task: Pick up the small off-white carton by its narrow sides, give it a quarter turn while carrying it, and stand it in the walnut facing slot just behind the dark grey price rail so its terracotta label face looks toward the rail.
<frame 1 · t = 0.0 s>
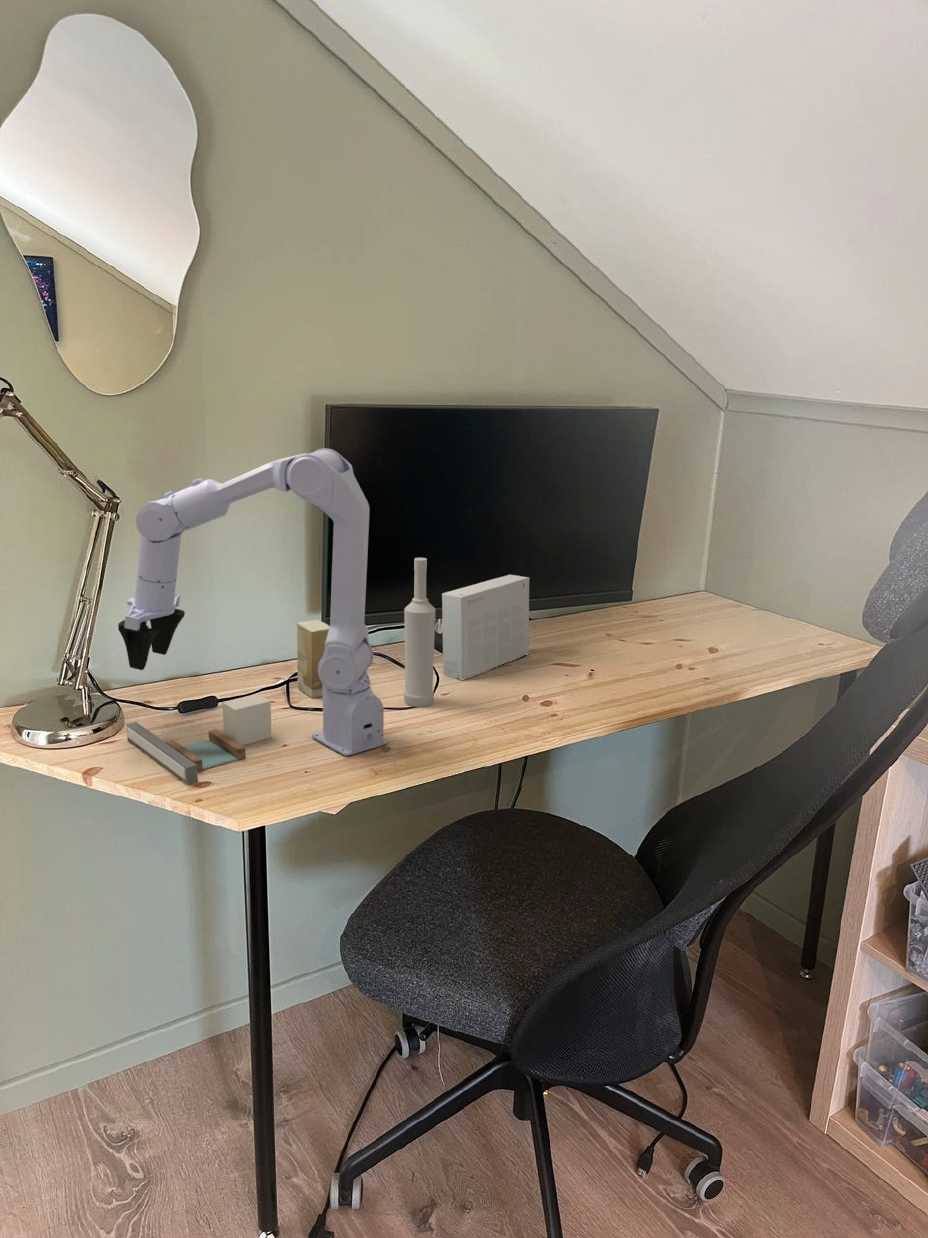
hand: (148, 660, 150), 11 cm above the table, tool pointing down, fingers open, 7 cm apart
bottle: (418, 703, 166), on the table
price rail: (161, 759, 140), on the table
skincare box: (315, 692, 169), on the table
carton: (247, 738, 149), on the table
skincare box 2: (485, 665, 186), on the table
facing slot: (205, 755, 142), on the table
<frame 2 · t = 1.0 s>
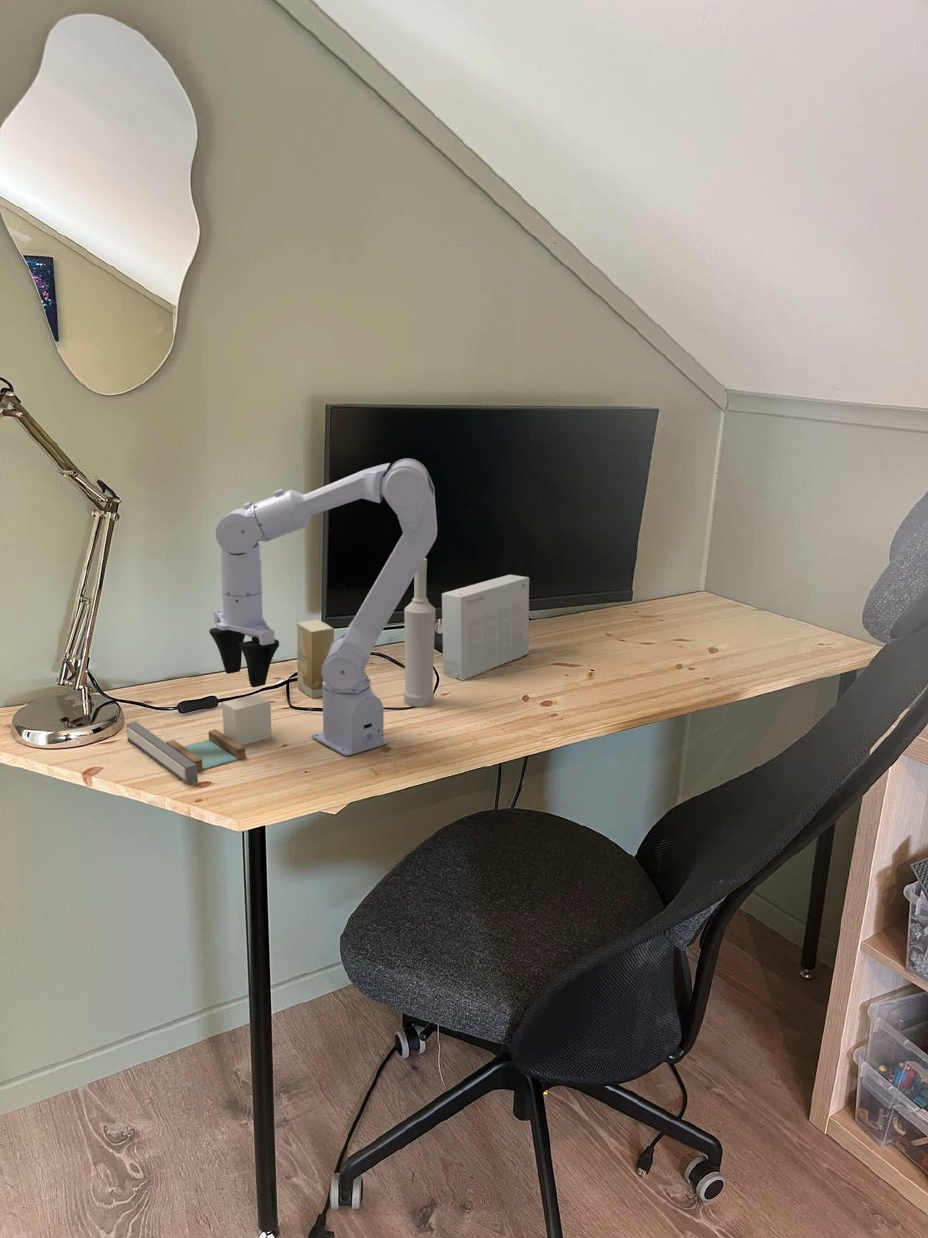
hand: (245, 678, 146), 10 cm above the table, tool pointing down, fingers open, 7 cm apart
nothing on the table moved.
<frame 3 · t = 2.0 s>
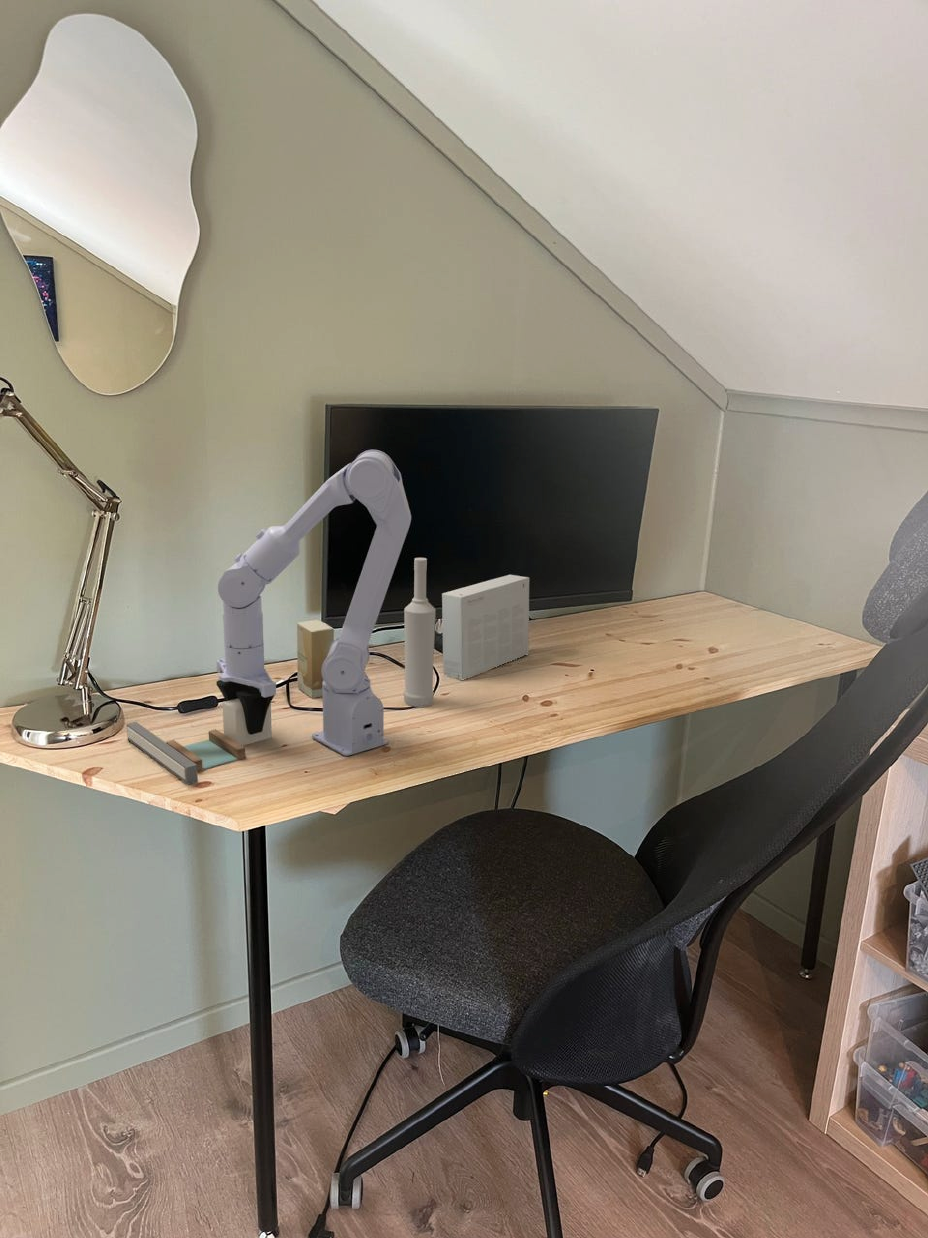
hand: (247, 728, 148), 2 cm above the table, tool pointing down, fingers closed on carton, 4 cm apart
carton: (247, 738, 149), on the table, touching gripper
everything else where it was.
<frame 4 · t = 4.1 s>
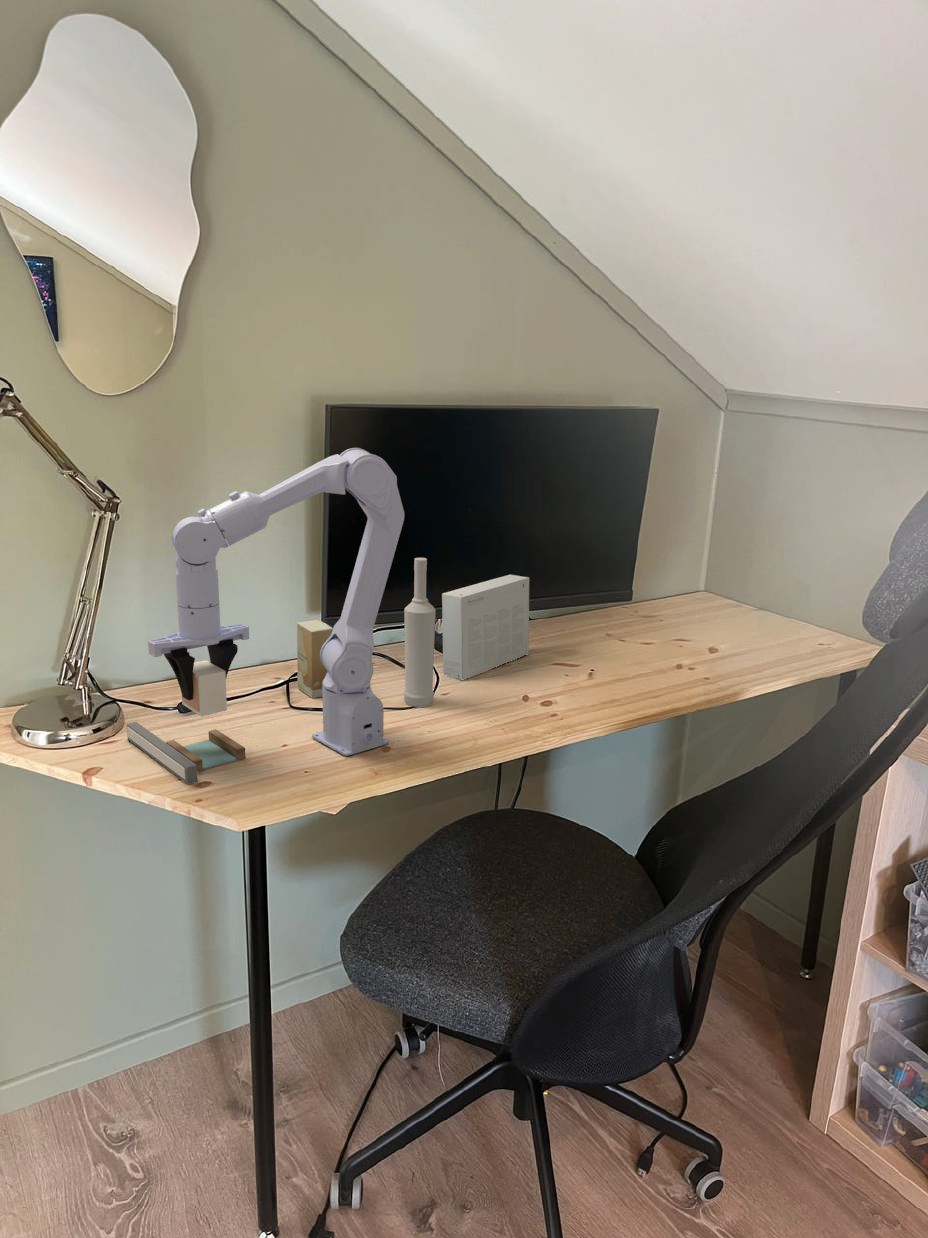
hand: (203, 694, 140), 9 cm above the table, tool pointing down, fingers closed on carton, 4 cm apart
carton: (204, 707, 140), point 7 cm above the table, touching gripper
everything else where it was.
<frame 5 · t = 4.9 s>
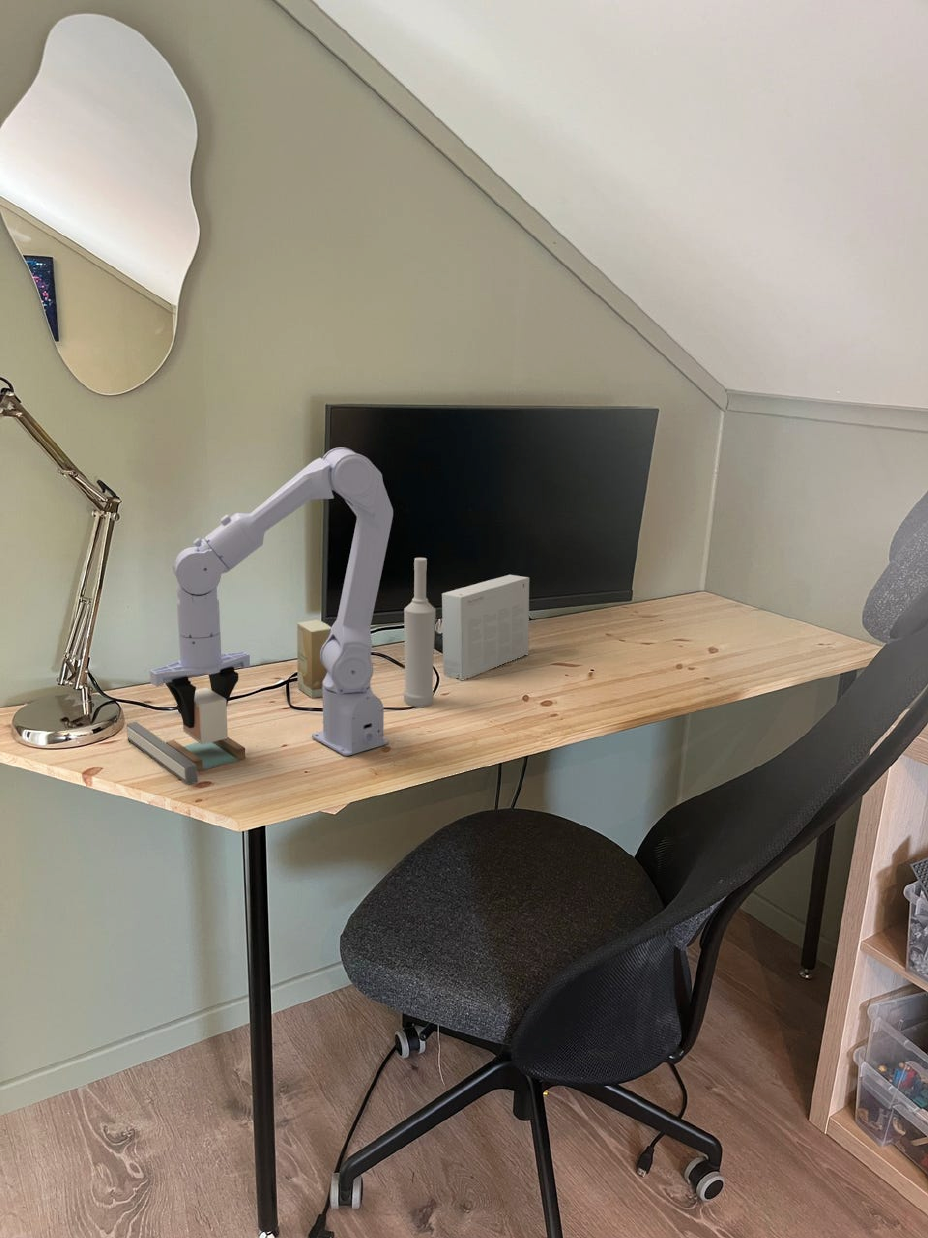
hand: (204, 722, 141), 5 cm above the table, tool pointing down, fingers closed on carton, 4 cm apart
carton: (205, 734, 141), point 3 cm above the table, touching gripper
everything else where it was.
when the fingers open (3 cm above the table, at t = 5.8 s): carton stays where it is, resting on facing slot.
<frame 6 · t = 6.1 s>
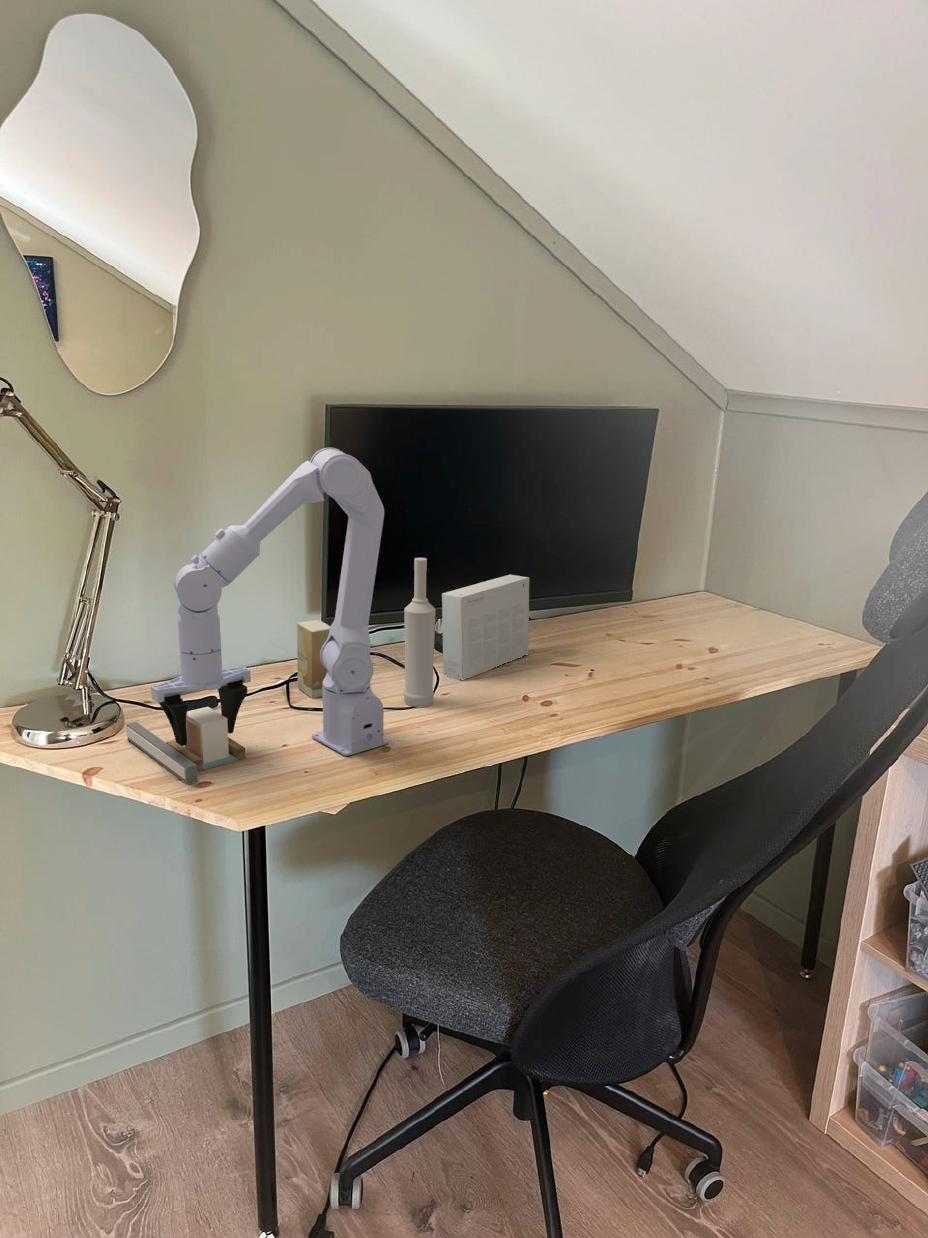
hand: (205, 737, 141), 3 cm above the table, tool pointing down, fingers open, 7 cm apart
carton: (206, 753, 142), resting on facing slot
everything else where it was.
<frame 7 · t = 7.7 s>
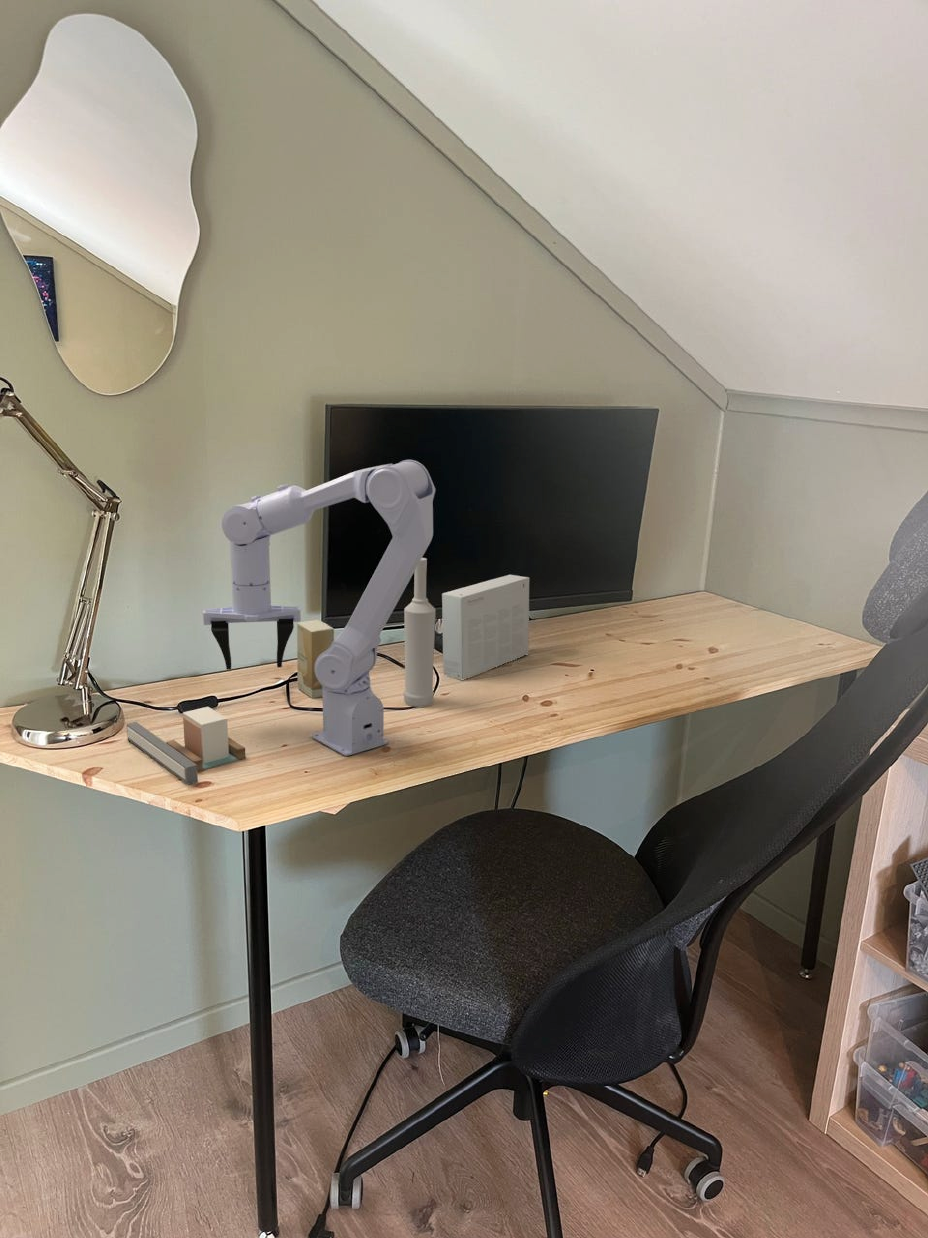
hand: (254, 666, 151), 10 cm above the table, tool pointing down, fingers open, 7 cm apart
nothing on the table moved.
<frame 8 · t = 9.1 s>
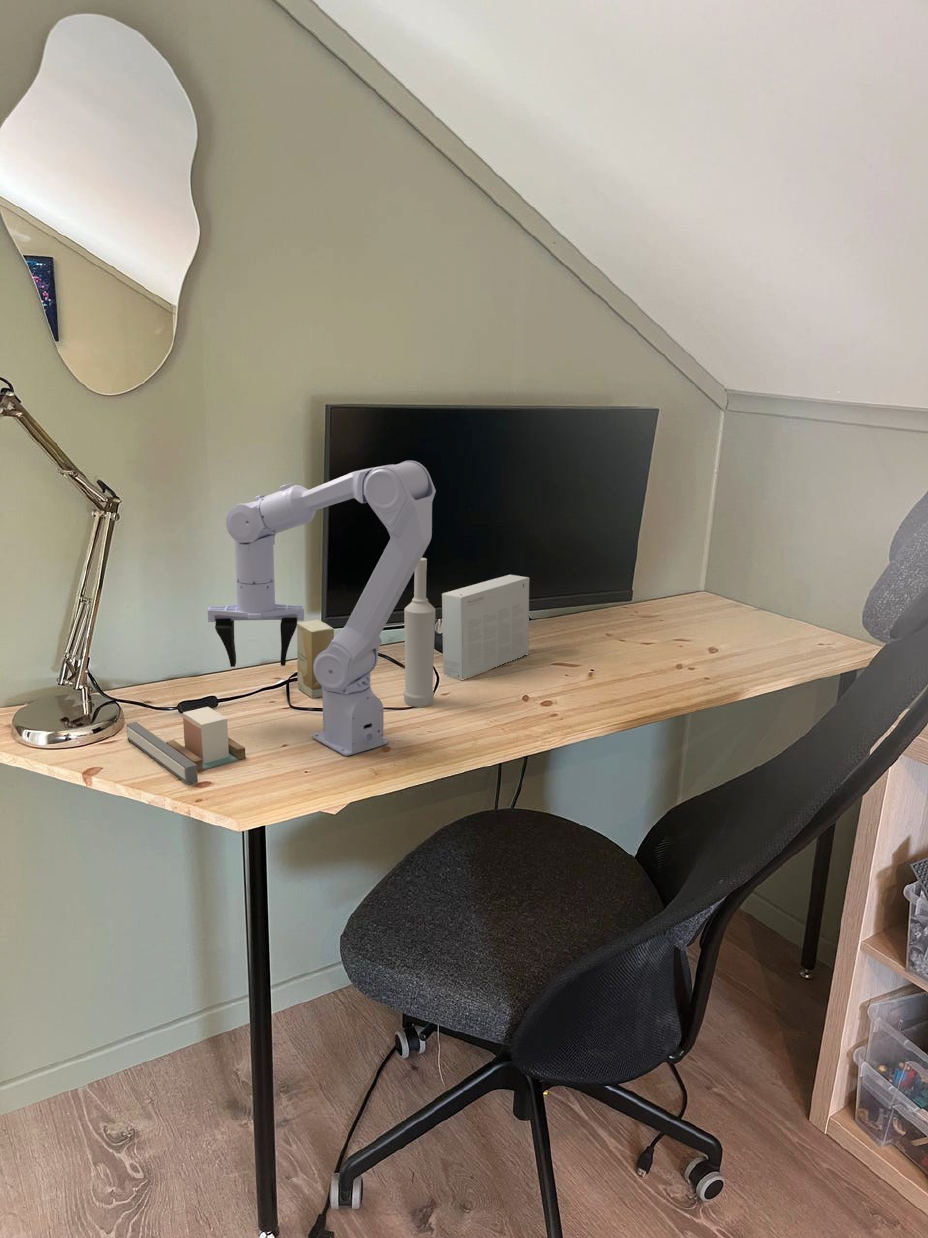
hand: (258, 664, 152), 10 cm above the table, tool pointing down, fingers open, 7 cm apart
nothing on the table moved.
at the end: carton inside the target area on the facing slot (0.1 cm from its centre), point 0.2 cm above the facing slot's base; carton tilted 0°; the gripper is holding nothing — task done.
